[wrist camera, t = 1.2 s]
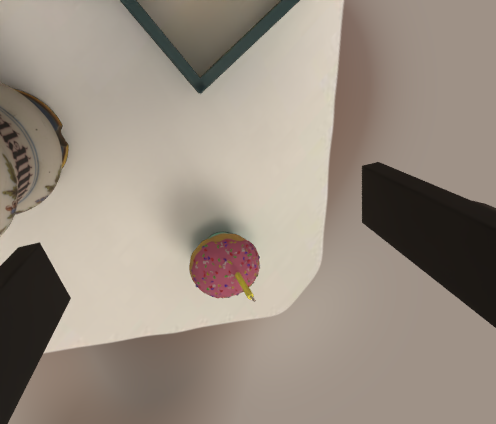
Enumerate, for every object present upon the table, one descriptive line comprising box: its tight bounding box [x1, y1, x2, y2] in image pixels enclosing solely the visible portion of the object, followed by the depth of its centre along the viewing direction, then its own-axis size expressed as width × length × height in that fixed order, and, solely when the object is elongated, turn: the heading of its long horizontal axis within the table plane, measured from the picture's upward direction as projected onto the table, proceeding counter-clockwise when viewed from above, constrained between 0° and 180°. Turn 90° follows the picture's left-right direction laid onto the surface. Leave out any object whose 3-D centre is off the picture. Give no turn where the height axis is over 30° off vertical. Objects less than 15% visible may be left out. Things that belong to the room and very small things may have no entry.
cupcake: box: [189, 232, 260, 302], centre depth 35 cm, size 9×8×12 cm
